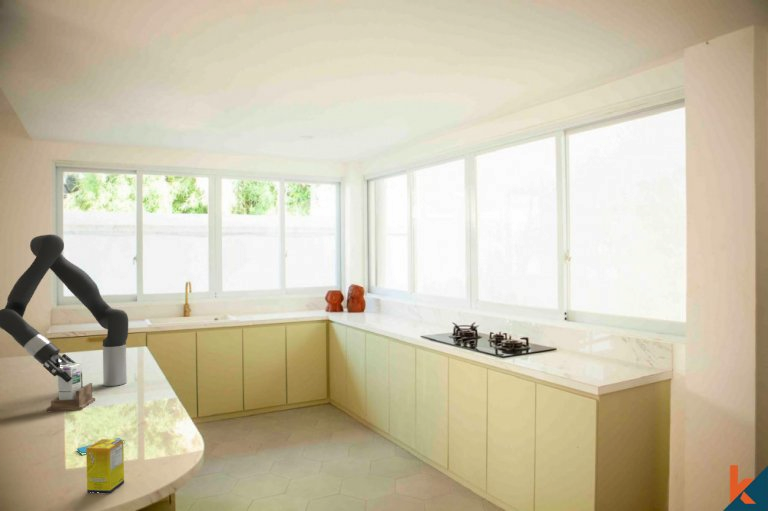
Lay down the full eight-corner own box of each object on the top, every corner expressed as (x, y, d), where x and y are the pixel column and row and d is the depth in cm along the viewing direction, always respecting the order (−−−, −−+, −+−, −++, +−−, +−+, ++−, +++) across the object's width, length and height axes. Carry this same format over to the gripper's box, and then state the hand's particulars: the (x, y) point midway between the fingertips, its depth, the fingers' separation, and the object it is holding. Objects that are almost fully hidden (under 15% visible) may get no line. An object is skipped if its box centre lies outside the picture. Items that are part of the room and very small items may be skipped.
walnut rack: (62, 402, 199) (61, 384, 199) (95, 400, 201) (94, 382, 201) (46, 411, 187) (46, 392, 187) (82, 409, 189) (81, 390, 189)
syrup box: (72, 405, 191) (71, 366, 191) (58, 404, 192) (57, 366, 191) (83, 400, 196) (82, 363, 196) (69, 400, 197) (69, 363, 197)
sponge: (126, 442, 153) (120, 435, 157) (81, 453, 144) (76, 446, 149) (126, 447, 153) (120, 440, 157) (81, 459, 145) (76, 451, 149)
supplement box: (102, 482, 127) (101, 438, 127) (124, 483, 127) (124, 439, 127) (86, 493, 121) (85, 447, 121) (109, 494, 121) (109, 448, 121)
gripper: (39, 345, 186) (74, 374, 188) (58, 338, 200) (90, 366, 202) (24, 360, 185) (58, 390, 187) (43, 352, 199) (76, 380, 201)
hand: (75, 377), depth 194 cm, fingers open, 8 cm apart
